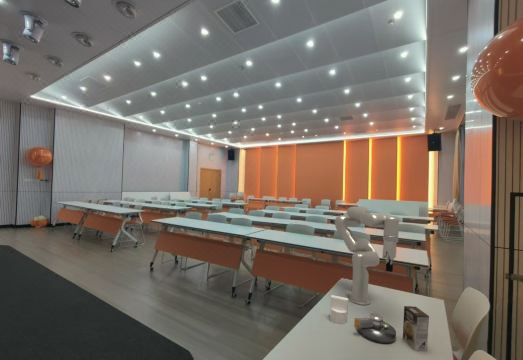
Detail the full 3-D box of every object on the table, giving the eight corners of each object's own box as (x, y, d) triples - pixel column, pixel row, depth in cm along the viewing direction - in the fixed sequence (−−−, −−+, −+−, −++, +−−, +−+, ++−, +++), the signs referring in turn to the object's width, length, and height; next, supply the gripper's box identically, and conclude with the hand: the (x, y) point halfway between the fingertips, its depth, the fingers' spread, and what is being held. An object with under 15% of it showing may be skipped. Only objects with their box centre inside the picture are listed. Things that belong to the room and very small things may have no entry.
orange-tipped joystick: (377, 323, 132) (377, 313, 132) (385, 329, 126) (385, 319, 126) (351, 325, 129) (352, 314, 129) (358, 331, 123) (359, 321, 123)
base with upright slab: (329, 321, 137) (330, 299, 137) (330, 314, 145) (331, 292, 146) (346, 325, 134) (347, 302, 134) (347, 317, 142) (348, 296, 143)
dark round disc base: (351, 332, 128) (351, 323, 128) (364, 319, 141) (364, 311, 141) (389, 349, 116) (390, 340, 116) (400, 333, 129) (400, 325, 129)
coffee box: (401, 338, 125) (403, 305, 125) (414, 338, 125) (415, 305, 125) (414, 351, 116) (416, 315, 116) (428, 351, 116) (429, 315, 116)
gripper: (387, 235, 151) (386, 266, 151) (379, 238, 140) (377, 272, 140) (401, 238, 146) (400, 270, 146) (394, 241, 135) (392, 276, 135)
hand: (389, 271), depth 143 cm, fingers closed
